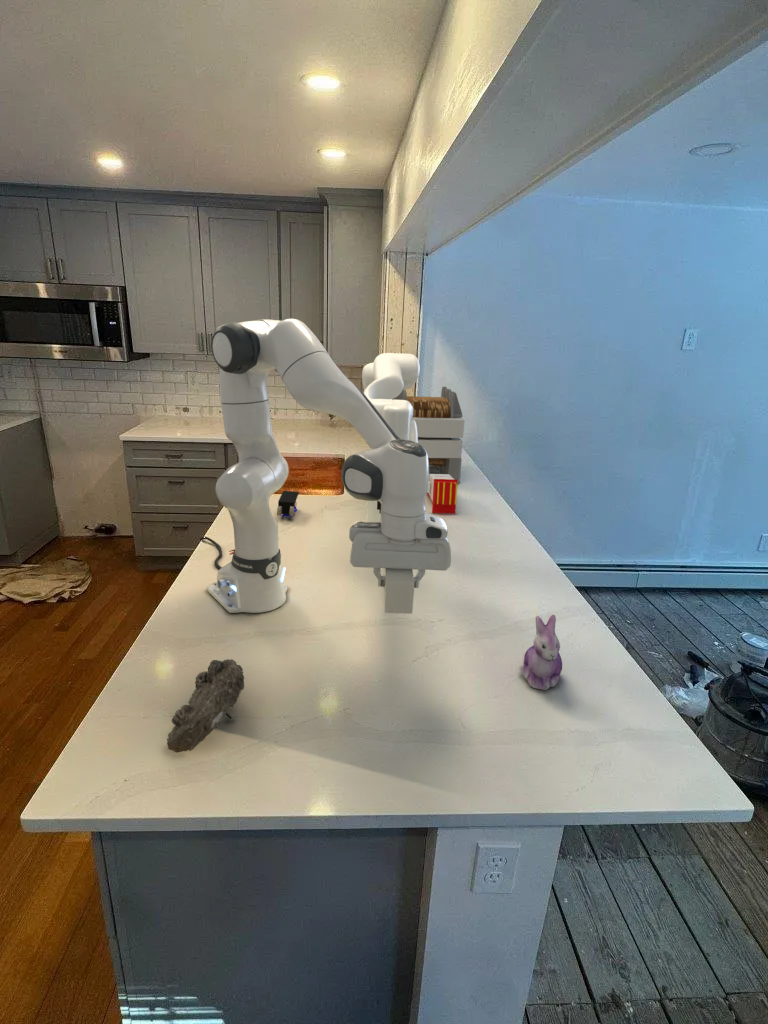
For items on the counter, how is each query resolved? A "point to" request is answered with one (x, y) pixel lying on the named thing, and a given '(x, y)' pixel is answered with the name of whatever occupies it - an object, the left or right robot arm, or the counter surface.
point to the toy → (442, 493)
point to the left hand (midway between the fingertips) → (398, 586)
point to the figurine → (543, 656)
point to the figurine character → (287, 504)
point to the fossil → (206, 705)
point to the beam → (398, 590)
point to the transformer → (439, 429)
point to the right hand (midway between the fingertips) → (391, 511)
